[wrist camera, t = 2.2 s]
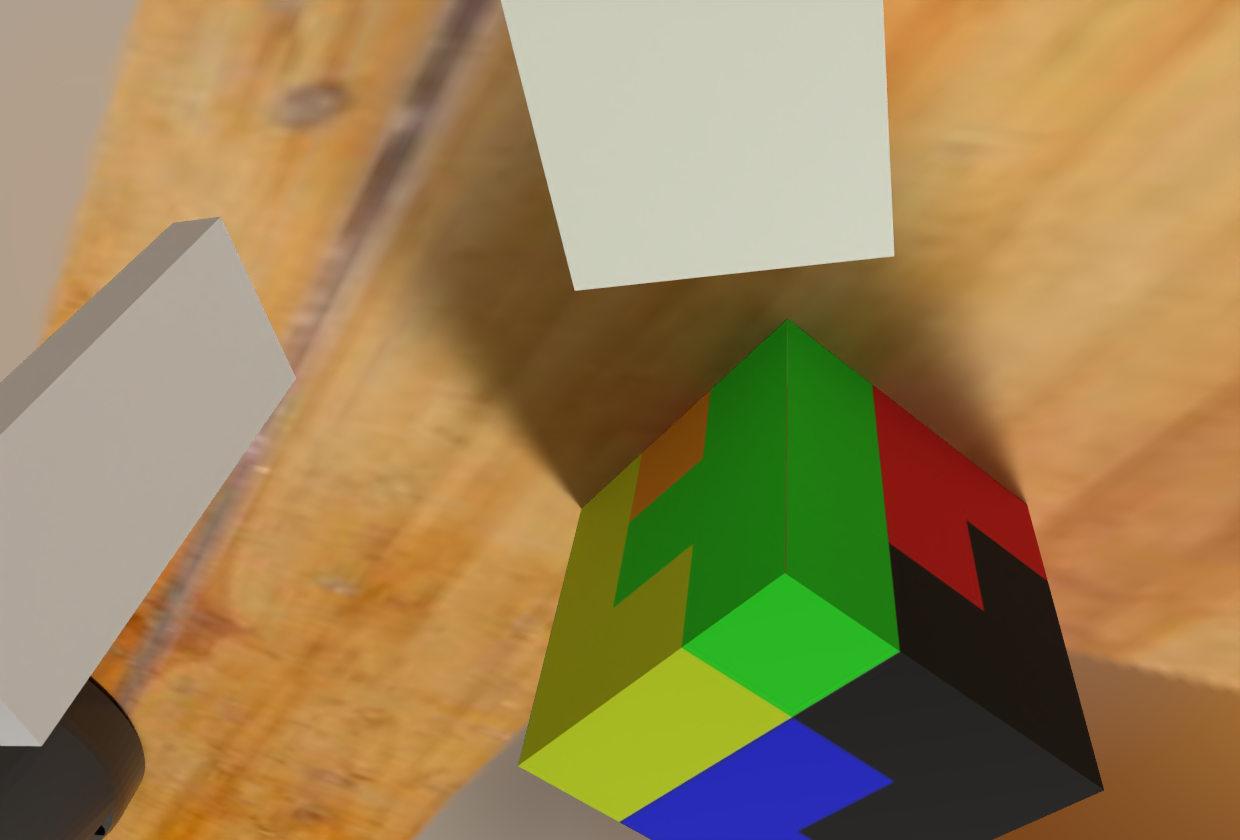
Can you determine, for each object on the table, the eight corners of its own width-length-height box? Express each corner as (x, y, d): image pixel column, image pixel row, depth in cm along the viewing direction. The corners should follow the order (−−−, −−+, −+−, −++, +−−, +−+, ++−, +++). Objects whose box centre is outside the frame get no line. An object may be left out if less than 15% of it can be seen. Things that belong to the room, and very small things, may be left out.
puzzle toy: (801, 651, 37) (803, 923, 29) (581, 507, 34) (517, 765, 26) (1026, 503, 31) (1104, 790, 24) (787, 317, 29) (784, 573, 21)
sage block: (628, 133, 26) (574, 290, 20) (576, -126, 22) (491, -35, 16) (869, 99, 25) (894, 256, 18) (853, -182, 21) (878, -108, 15)
